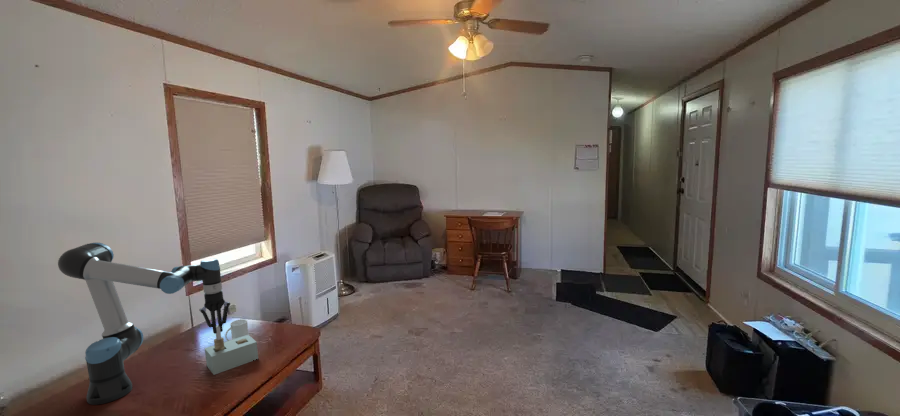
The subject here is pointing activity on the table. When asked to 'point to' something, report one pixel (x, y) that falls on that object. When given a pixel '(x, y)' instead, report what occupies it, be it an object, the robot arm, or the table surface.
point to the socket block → (231, 354)
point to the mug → (238, 329)
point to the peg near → (219, 344)
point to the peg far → (241, 341)
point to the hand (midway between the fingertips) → (218, 338)
